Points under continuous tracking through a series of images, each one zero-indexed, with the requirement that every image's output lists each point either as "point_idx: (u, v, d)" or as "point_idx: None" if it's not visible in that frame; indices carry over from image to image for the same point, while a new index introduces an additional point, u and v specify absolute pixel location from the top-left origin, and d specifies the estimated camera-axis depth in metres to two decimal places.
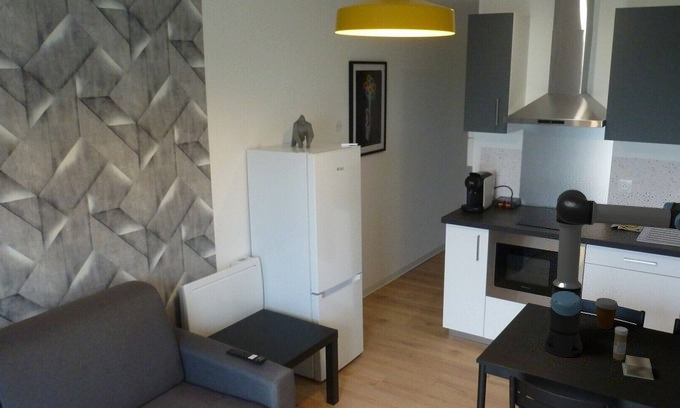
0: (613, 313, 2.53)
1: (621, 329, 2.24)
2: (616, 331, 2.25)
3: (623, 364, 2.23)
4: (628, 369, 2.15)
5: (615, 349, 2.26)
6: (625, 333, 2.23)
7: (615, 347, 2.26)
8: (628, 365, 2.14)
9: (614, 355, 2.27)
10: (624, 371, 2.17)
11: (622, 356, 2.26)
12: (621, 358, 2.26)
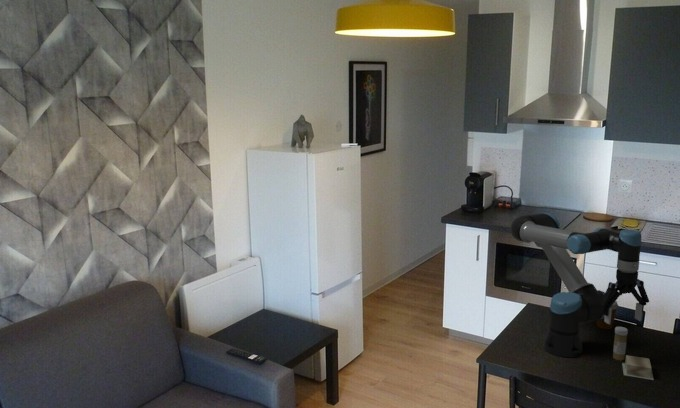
0: (613, 313, 2.53)
1: (621, 329, 2.24)
2: (616, 331, 2.25)
3: (623, 364, 2.23)
4: (628, 369, 2.15)
5: (615, 349, 2.26)
6: (625, 333, 2.23)
7: (615, 347, 2.26)
8: (628, 365, 2.14)
9: (614, 355, 2.27)
10: (624, 371, 2.17)
11: (622, 356, 2.26)
12: (621, 358, 2.26)
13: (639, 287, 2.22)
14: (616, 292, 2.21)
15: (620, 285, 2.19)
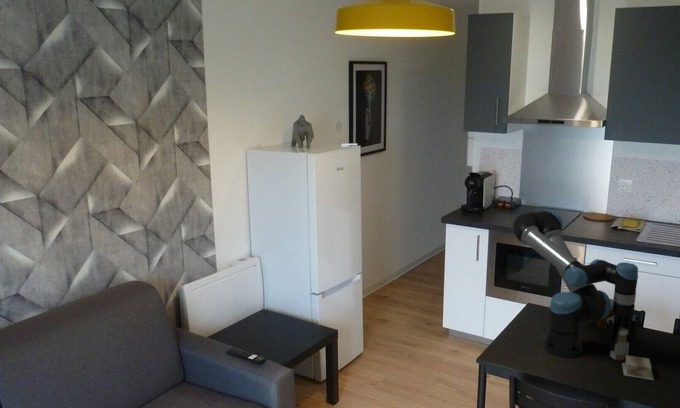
0: None
1: (621, 329, 2.24)
2: None
3: (623, 364, 2.23)
4: (628, 369, 2.15)
5: None
6: (625, 333, 2.23)
7: None
8: (628, 365, 2.14)
9: None
10: (624, 371, 2.17)
11: (622, 356, 2.26)
12: (621, 358, 2.26)
13: (632, 322, 2.25)
14: (616, 326, 2.24)
15: (617, 318, 2.22)
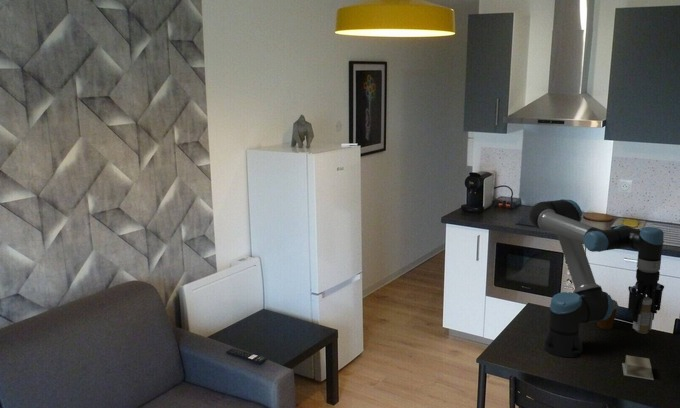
0: (613, 313, 2.53)
1: (645, 298, 2.10)
2: None
3: (623, 364, 2.23)
4: (628, 369, 2.15)
5: None
6: (649, 302, 2.09)
7: None
8: (628, 365, 2.14)
9: None
10: (624, 371, 2.17)
11: (646, 327, 2.11)
12: (645, 329, 2.12)
13: (657, 291, 2.11)
14: (639, 295, 2.10)
15: (640, 286, 2.08)
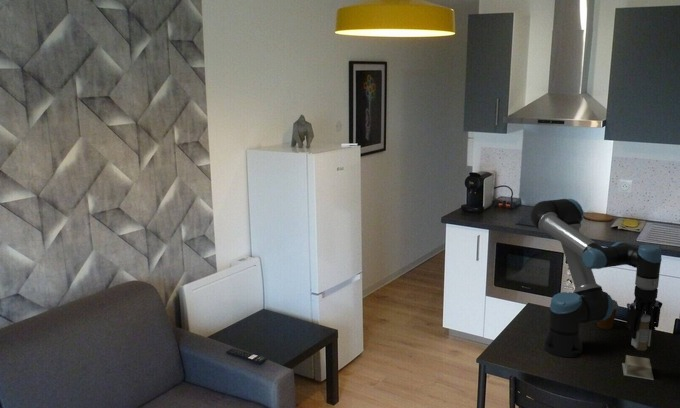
0: (613, 313, 2.53)
1: (643, 315, 2.12)
2: None
3: (623, 364, 2.23)
4: (628, 369, 2.15)
5: None
6: (648, 319, 2.10)
7: None
8: (628, 365, 2.14)
9: None
10: (624, 371, 2.17)
11: (644, 344, 2.13)
12: (643, 346, 2.13)
13: (655, 308, 2.13)
14: (637, 312, 2.11)
15: (639, 303, 2.10)
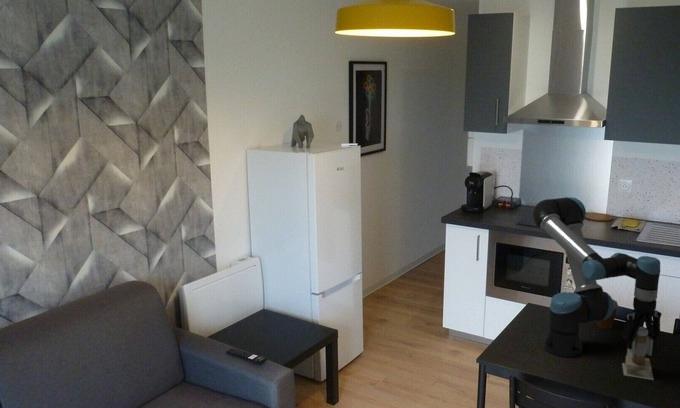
0: (613, 313, 2.53)
1: (641, 329, 2.13)
2: None
3: (623, 364, 2.23)
4: (628, 369, 2.15)
5: (634, 350, 2.15)
6: (645, 333, 2.12)
7: (635, 348, 2.15)
8: (628, 365, 2.14)
9: (634, 357, 2.16)
10: (624, 371, 2.17)
11: (642, 358, 2.14)
12: (641, 360, 2.14)
13: (655, 318, 2.14)
14: (635, 323, 2.12)
15: (637, 314, 2.11)
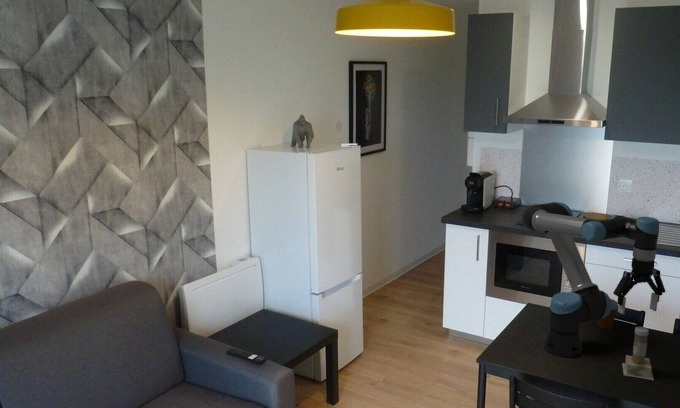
0: (613, 313, 2.53)
1: (641, 329, 2.13)
2: (636, 331, 2.13)
3: (623, 364, 2.23)
4: (628, 369, 2.15)
5: (635, 350, 2.15)
6: (646, 333, 2.12)
7: (635, 348, 2.15)
8: (628, 365, 2.14)
9: (634, 357, 2.16)
10: (624, 371, 2.17)
11: (642, 358, 2.14)
12: (641, 360, 2.14)
13: (655, 276, 2.15)
14: (631, 281, 2.13)
15: (635, 274, 2.12)
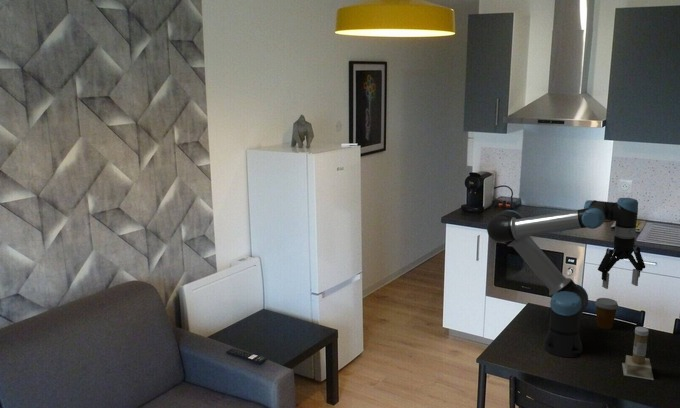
0: (613, 313, 2.53)
1: (641, 329, 2.13)
2: (636, 331, 2.13)
3: (623, 364, 2.23)
4: (628, 369, 2.15)
5: (635, 350, 2.15)
6: (646, 333, 2.12)
7: (635, 348, 2.15)
8: (628, 365, 2.14)
9: (634, 357, 2.16)
10: (624, 371, 2.17)
11: (642, 358, 2.14)
12: (641, 360, 2.14)
13: (636, 253, 2.32)
14: (614, 258, 2.30)
15: (617, 251, 2.28)
